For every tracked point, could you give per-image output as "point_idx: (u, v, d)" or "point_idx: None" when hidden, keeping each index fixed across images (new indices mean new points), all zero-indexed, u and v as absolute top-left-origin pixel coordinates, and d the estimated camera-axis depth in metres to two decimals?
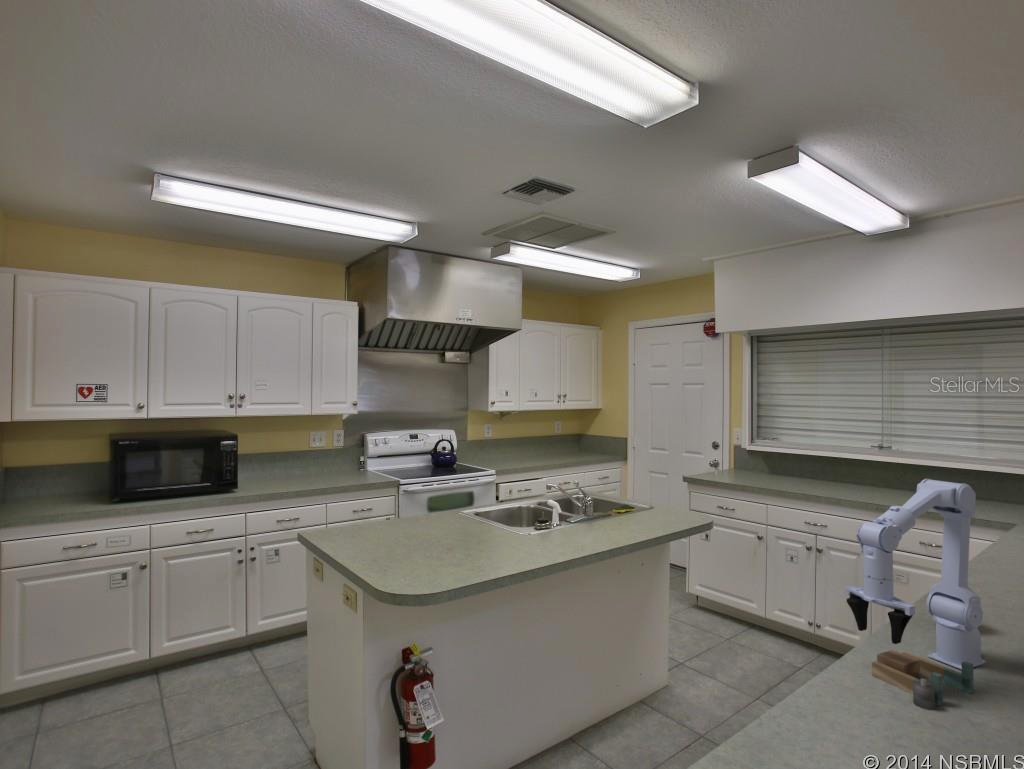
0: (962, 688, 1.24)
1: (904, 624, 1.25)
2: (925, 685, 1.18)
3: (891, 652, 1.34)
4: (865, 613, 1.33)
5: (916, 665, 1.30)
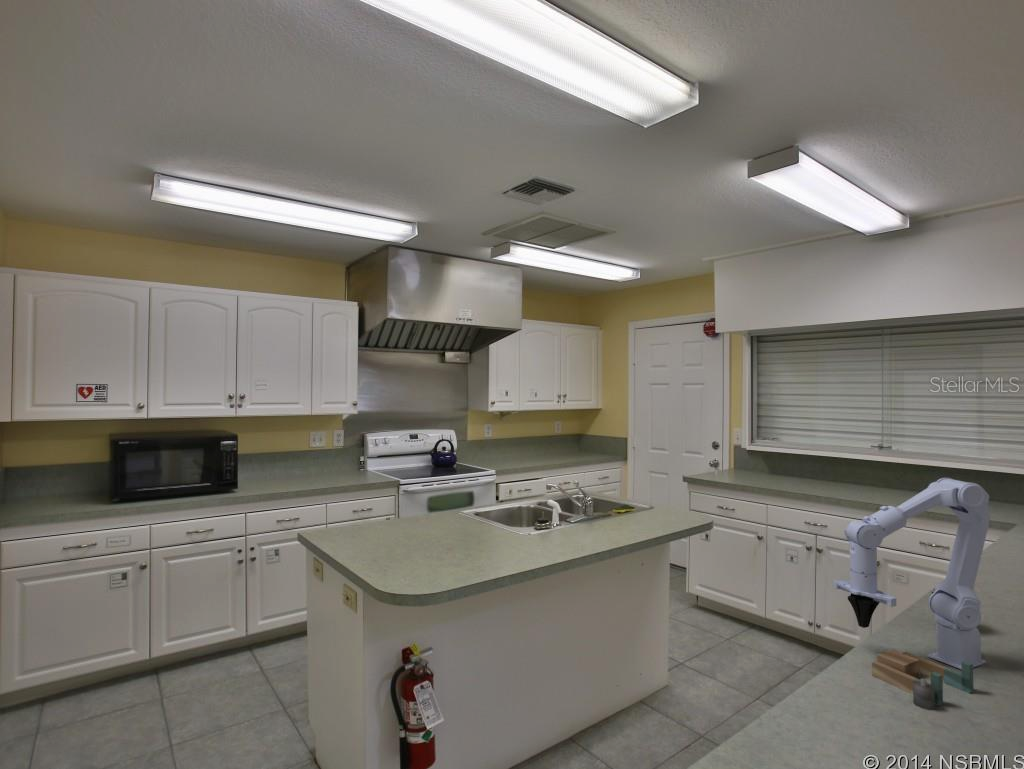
0: (962, 688, 1.24)
1: (872, 610, 1.39)
2: (925, 685, 1.18)
3: (891, 652, 1.34)
4: None
5: (916, 665, 1.30)
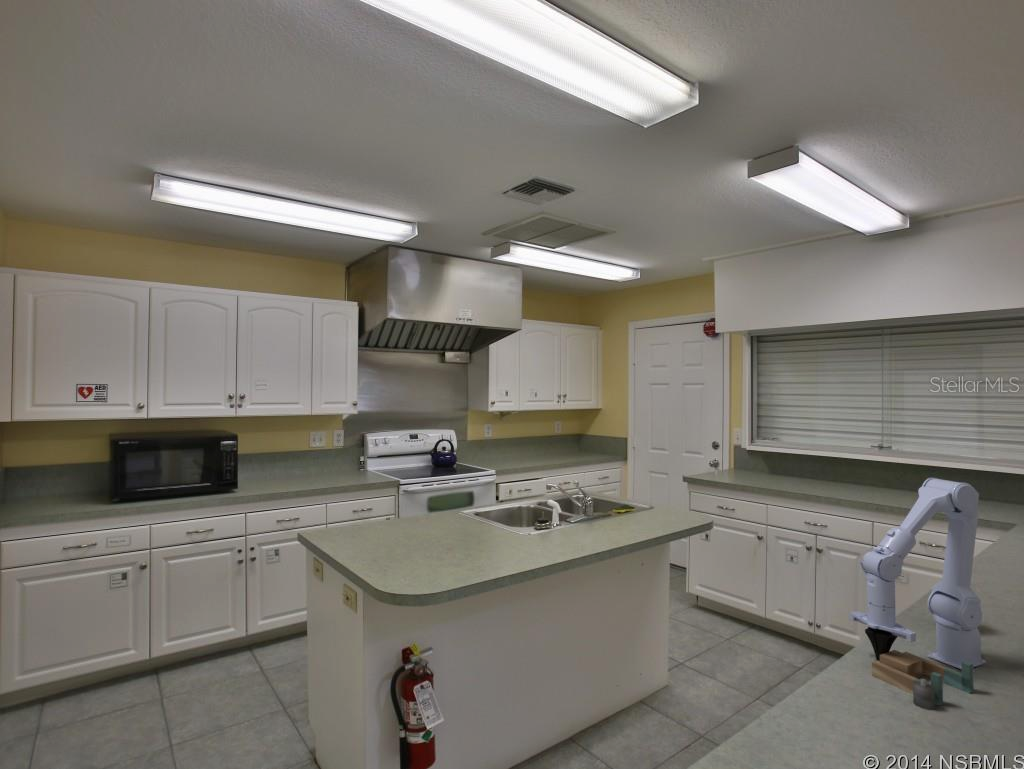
0: (962, 688, 1.24)
1: (890, 644, 1.35)
2: (925, 685, 1.18)
3: (894, 652, 1.34)
4: None
5: (919, 665, 1.29)
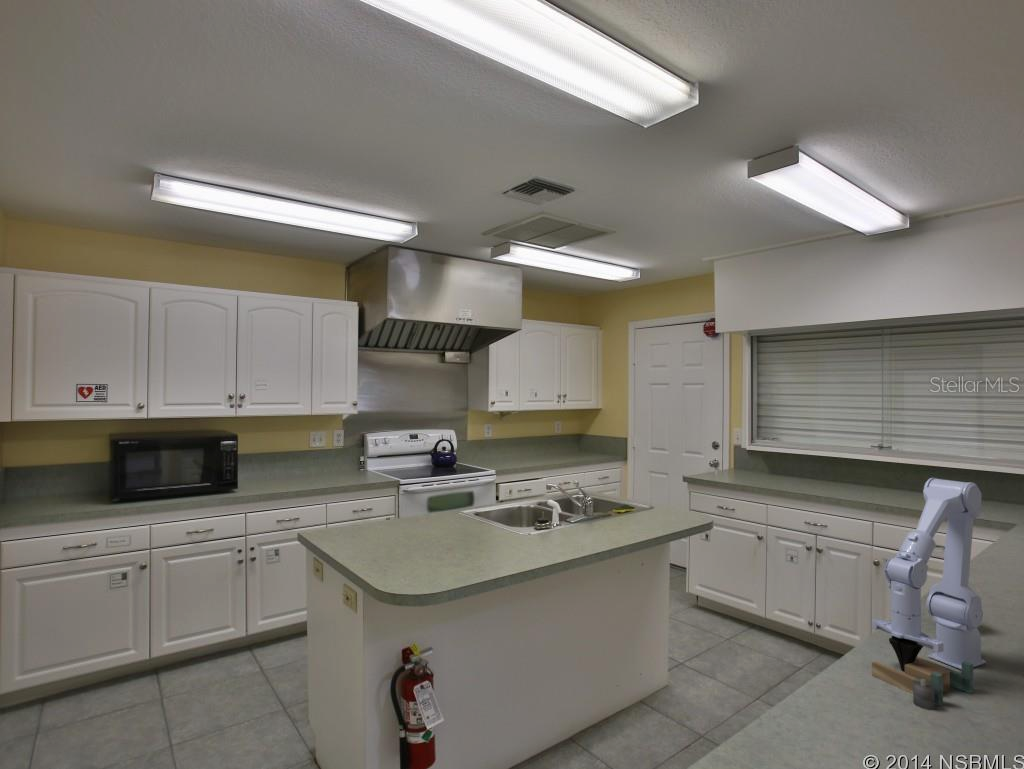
0: (962, 688, 1.24)
1: (915, 654, 1.30)
2: (925, 685, 1.18)
3: (920, 662, 1.29)
4: None
5: (946, 676, 1.24)
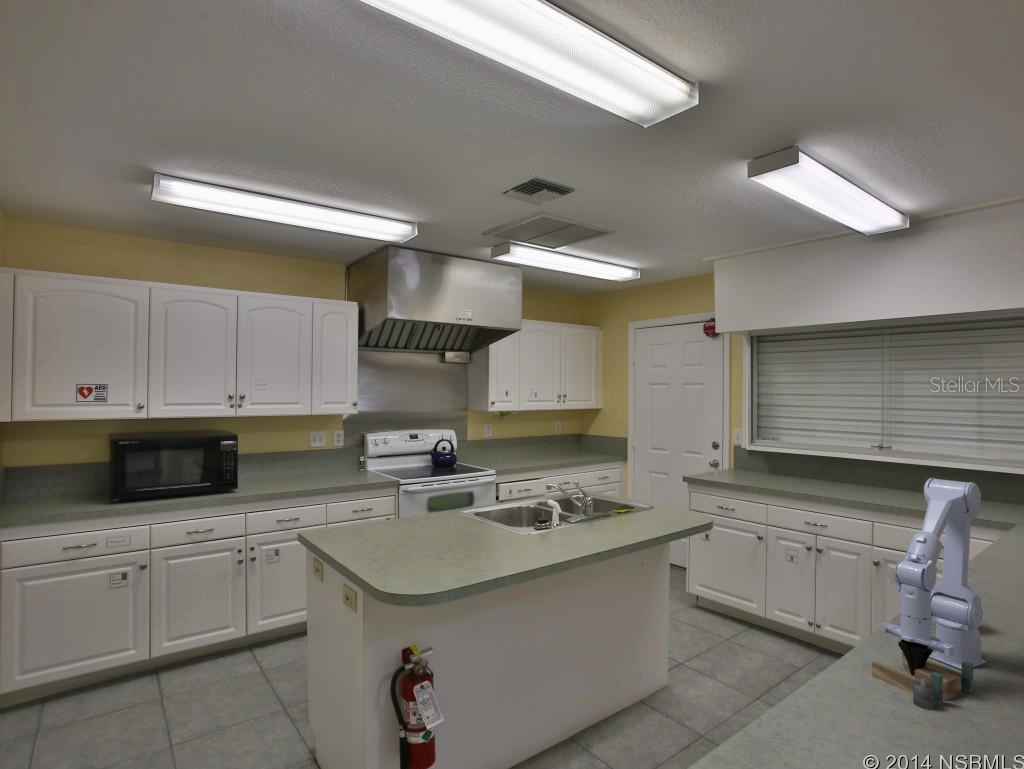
0: (962, 688, 1.24)
1: (925, 657, 1.28)
2: (925, 685, 1.18)
3: (930, 668, 1.27)
4: None
5: (957, 682, 1.22)
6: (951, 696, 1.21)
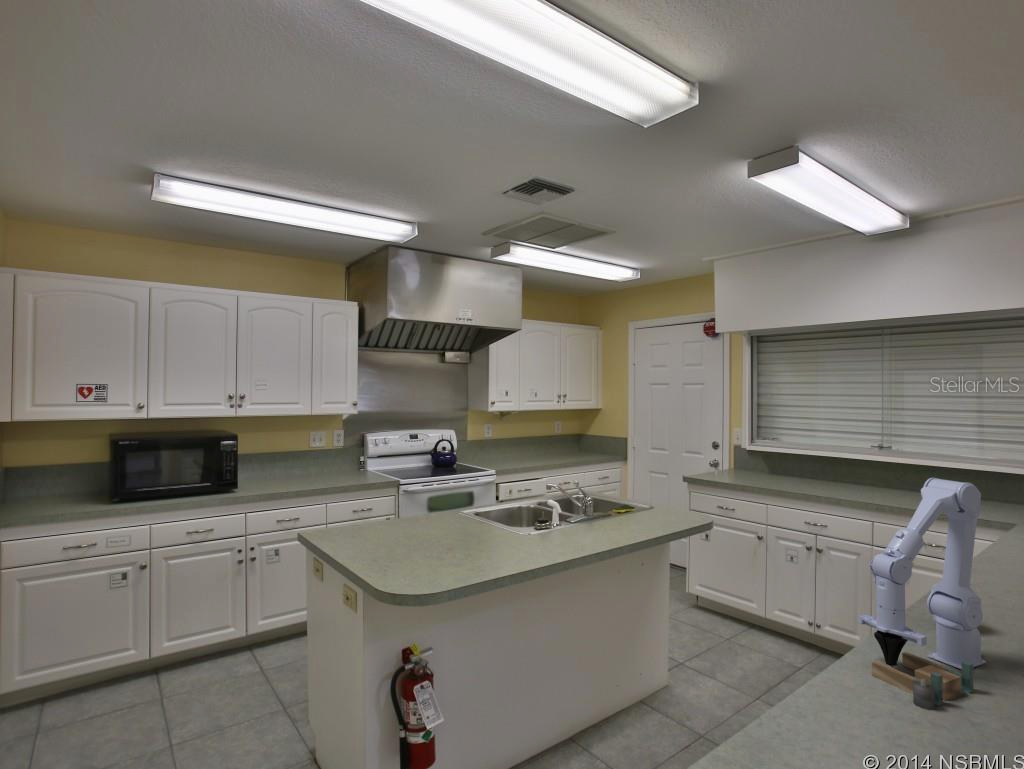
0: (962, 688, 1.24)
1: (900, 648, 1.33)
2: (925, 685, 1.18)
3: (930, 668, 1.27)
4: None
5: (957, 682, 1.22)
6: (951, 696, 1.21)
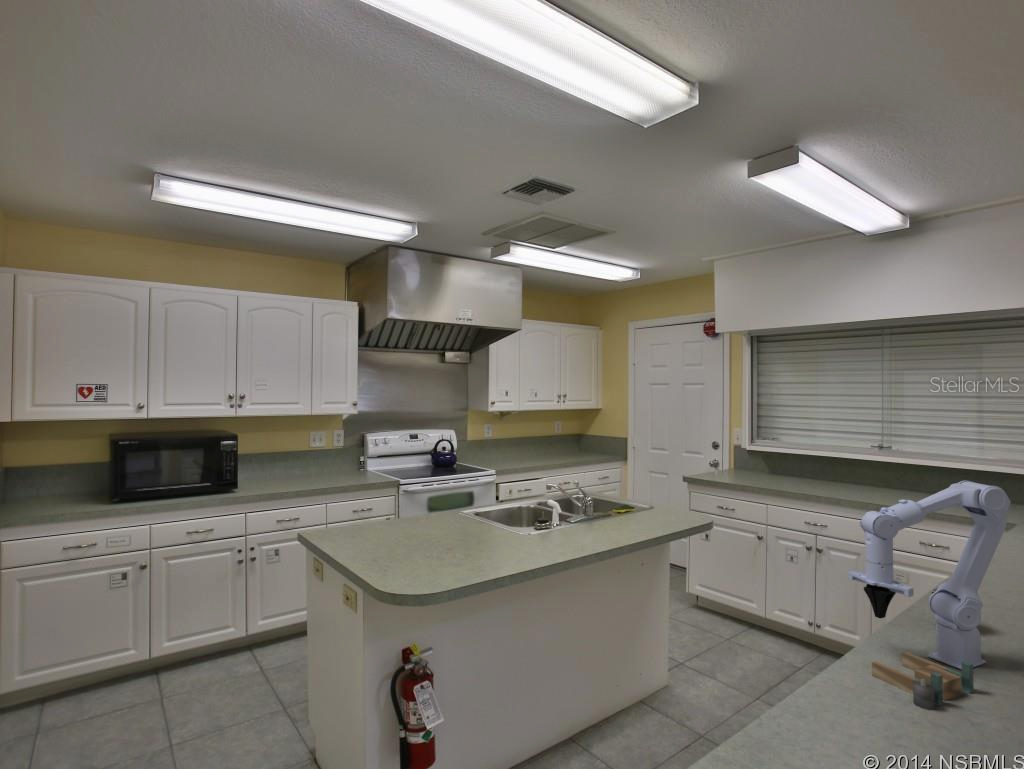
0: (962, 688, 1.24)
1: (888, 600, 1.38)
2: (925, 685, 1.18)
3: (930, 668, 1.27)
4: None
5: (957, 682, 1.22)
6: (951, 696, 1.21)
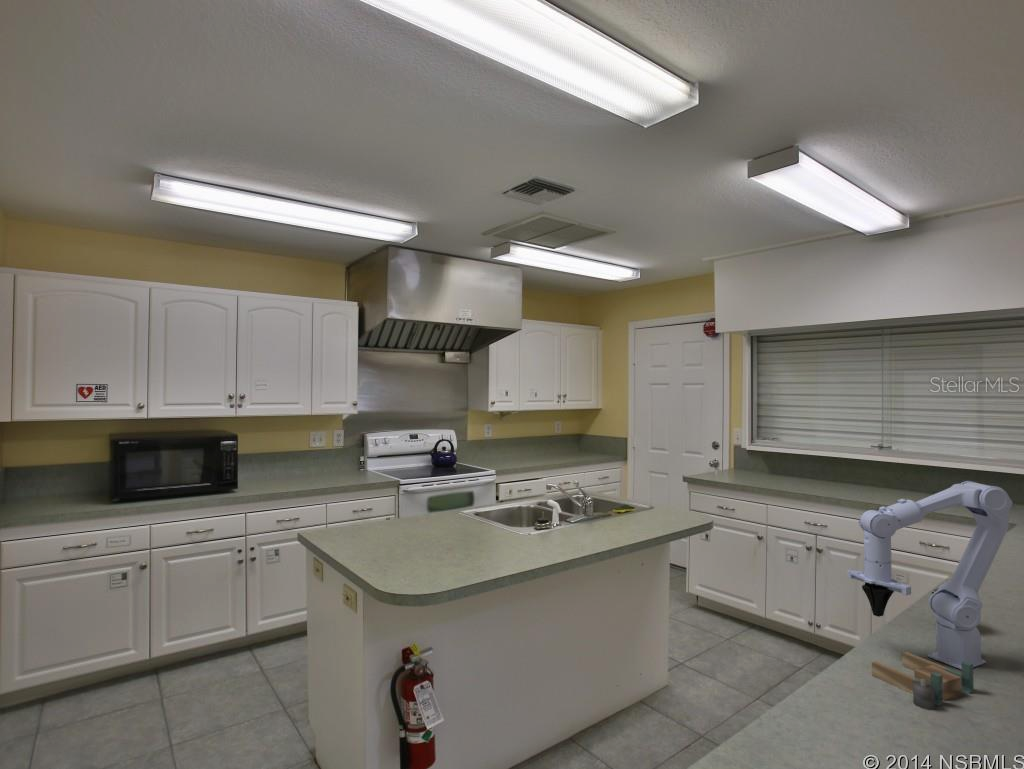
0: (962, 688, 1.24)
1: (886, 599, 1.39)
2: (925, 685, 1.18)
3: (931, 668, 1.27)
4: None
5: (957, 682, 1.22)
6: (950, 696, 1.21)
